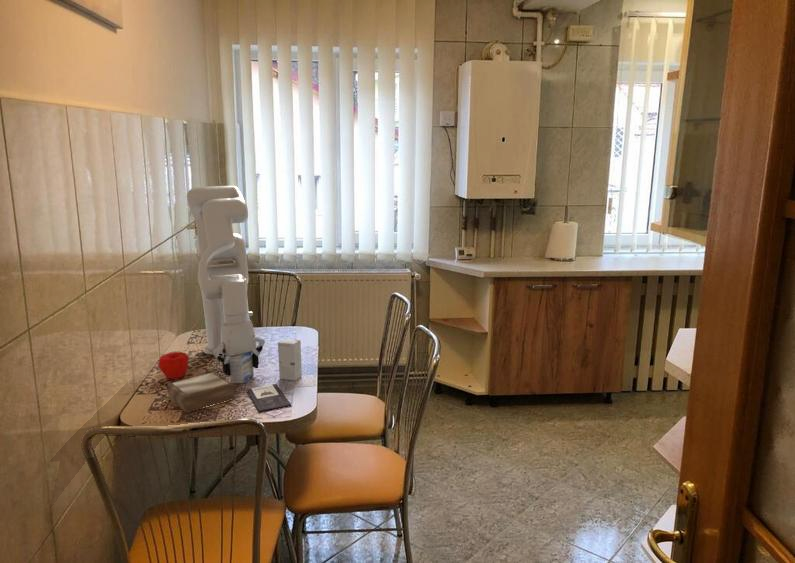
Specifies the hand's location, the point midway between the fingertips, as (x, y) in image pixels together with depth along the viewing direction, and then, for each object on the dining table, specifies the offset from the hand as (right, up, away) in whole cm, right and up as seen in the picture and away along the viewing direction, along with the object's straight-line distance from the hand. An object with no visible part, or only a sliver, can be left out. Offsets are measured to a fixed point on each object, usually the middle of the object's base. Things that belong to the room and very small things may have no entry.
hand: (241, 370), depth 188 cm
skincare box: (+16, -2, +1) cm, 16 cm away
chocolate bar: (+12, -6, -15) cm, 20 cm away
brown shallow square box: (-8, -6, -15) cm, 18 cm away
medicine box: (0, -3, +1) cm, 3 cm away
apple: (-22, -3, +4) cm, 23 cm away
